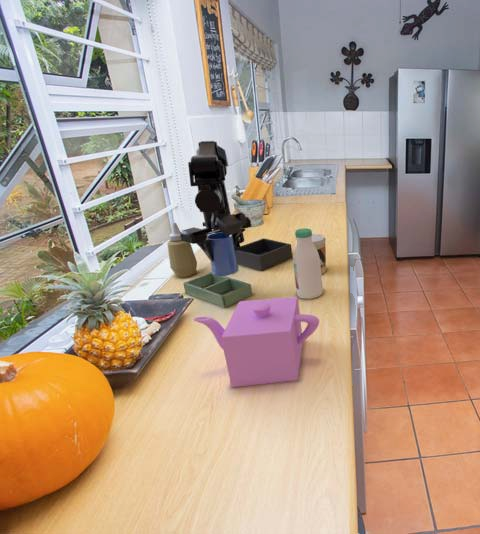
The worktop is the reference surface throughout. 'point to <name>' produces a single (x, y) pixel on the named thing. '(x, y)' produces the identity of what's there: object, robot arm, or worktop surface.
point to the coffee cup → (320, 249)
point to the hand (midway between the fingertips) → (223, 257)
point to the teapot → (263, 340)
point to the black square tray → (263, 254)
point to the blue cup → (223, 254)
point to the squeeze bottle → (181, 254)
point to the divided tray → (218, 289)
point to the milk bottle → (307, 266)
